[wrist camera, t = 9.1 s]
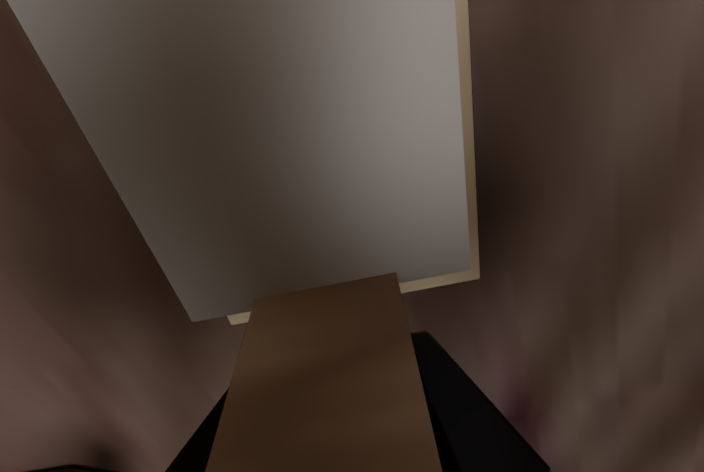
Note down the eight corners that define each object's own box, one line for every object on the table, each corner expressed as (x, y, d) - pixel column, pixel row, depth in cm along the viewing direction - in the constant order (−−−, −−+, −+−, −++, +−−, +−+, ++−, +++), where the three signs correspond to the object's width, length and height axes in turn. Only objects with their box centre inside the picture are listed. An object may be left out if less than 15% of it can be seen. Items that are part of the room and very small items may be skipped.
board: (422, -568, 6) (438, -667, 5) (471, 262, 14) (480, 278, 13) (-94, -385, 7) (-160, -446, 6) (237, 306, 15) (231, 325, 14)
